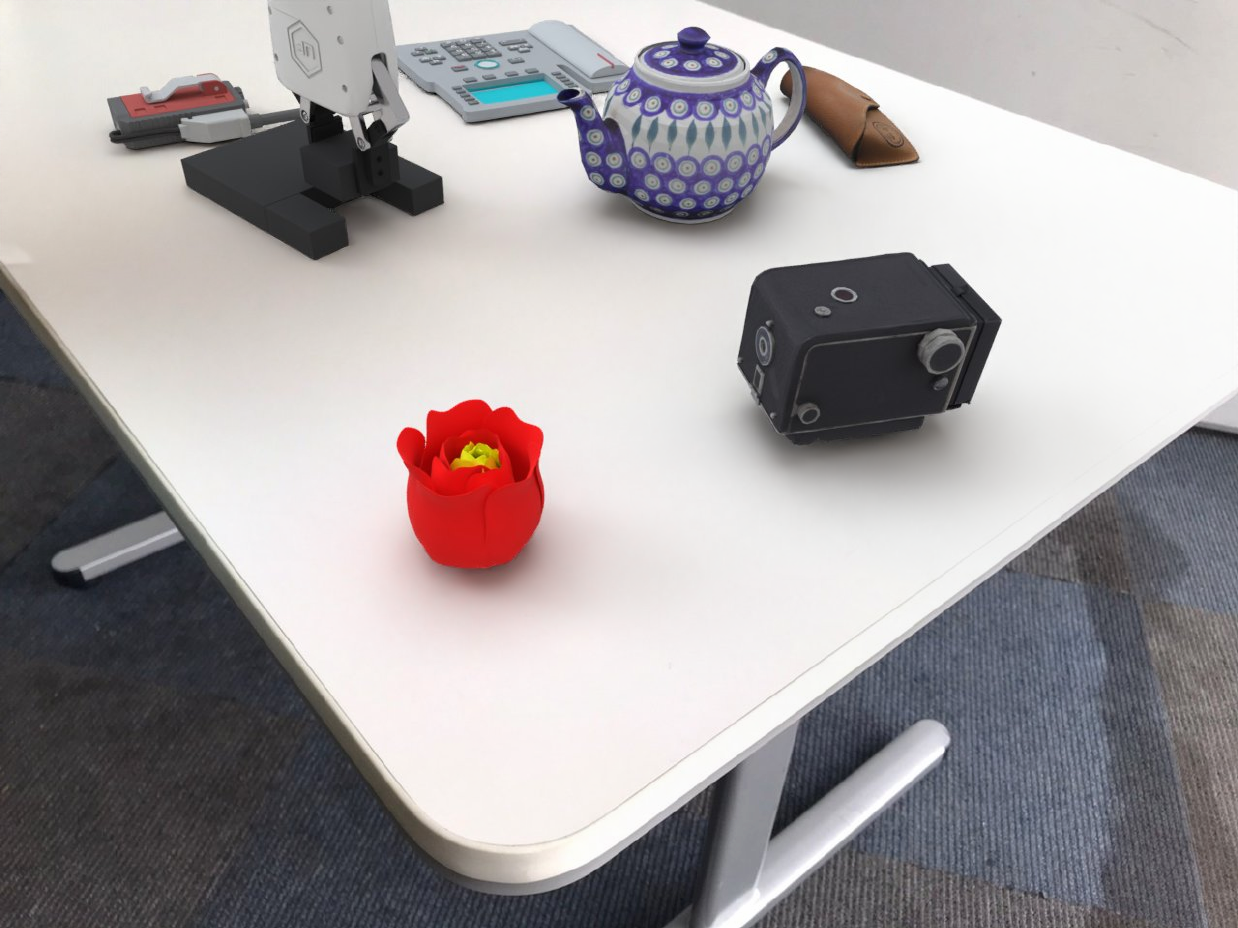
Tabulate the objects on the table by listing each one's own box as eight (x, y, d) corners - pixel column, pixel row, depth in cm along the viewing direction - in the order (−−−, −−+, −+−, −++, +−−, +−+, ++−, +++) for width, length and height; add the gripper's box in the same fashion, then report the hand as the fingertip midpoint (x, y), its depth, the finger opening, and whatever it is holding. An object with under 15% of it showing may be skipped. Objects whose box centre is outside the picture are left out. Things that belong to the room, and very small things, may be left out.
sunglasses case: (927, 157, 101) (911, 103, 96) (865, 196, 102) (846, 144, 97) (846, 87, 114) (828, 36, 109) (791, 123, 115) (771, 74, 110)
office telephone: (570, 12, 122) (658, 70, 110) (570, 34, 124) (656, 94, 111) (385, 34, 113) (457, 101, 100) (387, 58, 114) (458, 127, 102)
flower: (409, 598, 56) (396, 493, 51) (407, 502, 62) (394, 398, 56) (551, 585, 57) (552, 481, 52) (536, 492, 63) (536, 389, 58)
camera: (781, 500, 65) (990, 447, 68) (795, 359, 57) (1030, 305, 60) (721, 399, 73) (911, 354, 75) (726, 262, 65) (938, 218, 67)
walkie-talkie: (119, 164, 92) (334, 126, 101) (105, 117, 89) (327, 81, 98) (100, 127, 98) (305, 94, 106) (86, 81, 95) (298, 51, 103)
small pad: (343, 202, 82) (338, 167, 80) (304, 182, 84) (299, 147, 82) (400, 179, 86) (397, 145, 84) (362, 160, 88) (358, 126, 86)
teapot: (751, 143, 103) (775, -14, 93) (840, 212, 93) (876, 44, 83) (520, 182, 94) (518, 13, 84) (590, 263, 84) (597, 81, 74)
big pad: (314, 260, 82) (310, 232, 80) (186, 186, 90) (179, 159, 88) (444, 202, 90) (442, 176, 88) (316, 139, 98) (312, 114, 97)
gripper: (207, -77, 74) (252, 158, 86) (358, -20, 67) (384, 230, 79) (292, -93, 79) (324, 133, 91) (443, -41, 71) (456, 198, 83)
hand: (352, 176), depth 85 cm, fingers closed on small pad, 4 cm apart
